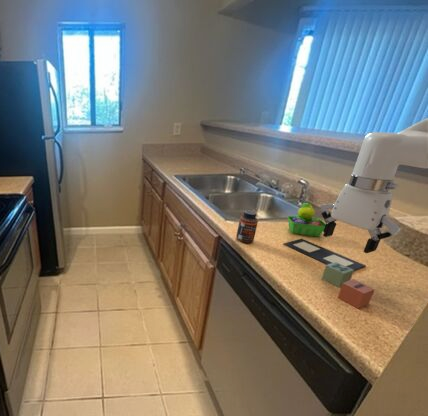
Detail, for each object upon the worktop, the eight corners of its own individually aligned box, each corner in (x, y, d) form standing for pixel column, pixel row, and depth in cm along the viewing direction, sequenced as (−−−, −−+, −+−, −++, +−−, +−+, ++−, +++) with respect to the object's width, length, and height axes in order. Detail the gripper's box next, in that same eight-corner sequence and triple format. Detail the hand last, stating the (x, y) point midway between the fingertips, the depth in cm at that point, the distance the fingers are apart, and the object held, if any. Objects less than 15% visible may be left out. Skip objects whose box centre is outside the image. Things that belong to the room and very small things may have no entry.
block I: (368, 303, 70) (375, 288, 69) (358, 308, 69) (364, 293, 67) (348, 293, 74) (353, 278, 72) (337, 297, 73) (342, 282, 71)
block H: (349, 283, 78) (354, 269, 76) (339, 287, 76) (344, 273, 75) (331, 275, 82) (336, 261, 80) (321, 278, 80) (325, 264, 79)
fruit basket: (289, 234, 107) (297, 207, 103) (283, 225, 115) (290, 200, 111) (324, 238, 104) (333, 211, 100) (315, 229, 111) (323, 203, 107)
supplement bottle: (240, 243, 100) (246, 215, 96) (233, 236, 106) (238, 209, 102) (256, 243, 101) (262, 215, 96) (248, 236, 106) (253, 209, 102)
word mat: (365, 266, 86) (366, 265, 86) (345, 273, 82) (346, 272, 82) (301, 239, 103) (301, 238, 103) (283, 244, 100) (283, 243, 100)
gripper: (424, 191, 63) (395, 256, 69) (339, 174, 78) (321, 228, 84) (407, 195, 60) (378, 262, 66) (322, 176, 75) (305, 232, 81)
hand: (346, 243), depth 75 cm, fingers open, 9 cm apart
